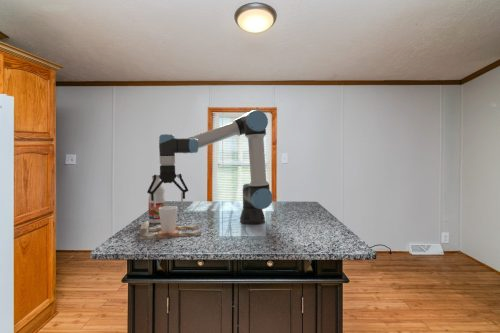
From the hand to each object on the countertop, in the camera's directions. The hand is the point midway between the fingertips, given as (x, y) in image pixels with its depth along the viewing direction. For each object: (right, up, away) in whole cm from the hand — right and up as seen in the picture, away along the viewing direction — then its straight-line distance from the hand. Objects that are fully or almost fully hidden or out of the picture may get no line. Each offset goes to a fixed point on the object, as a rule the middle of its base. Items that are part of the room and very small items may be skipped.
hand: (168, 206), depth 152 cm
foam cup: (0, -14, 0) cm, 14 cm away
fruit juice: (-14, -13, +27) cm, 33 cm away
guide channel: (+1, -14, +1) cm, 14 cm away
